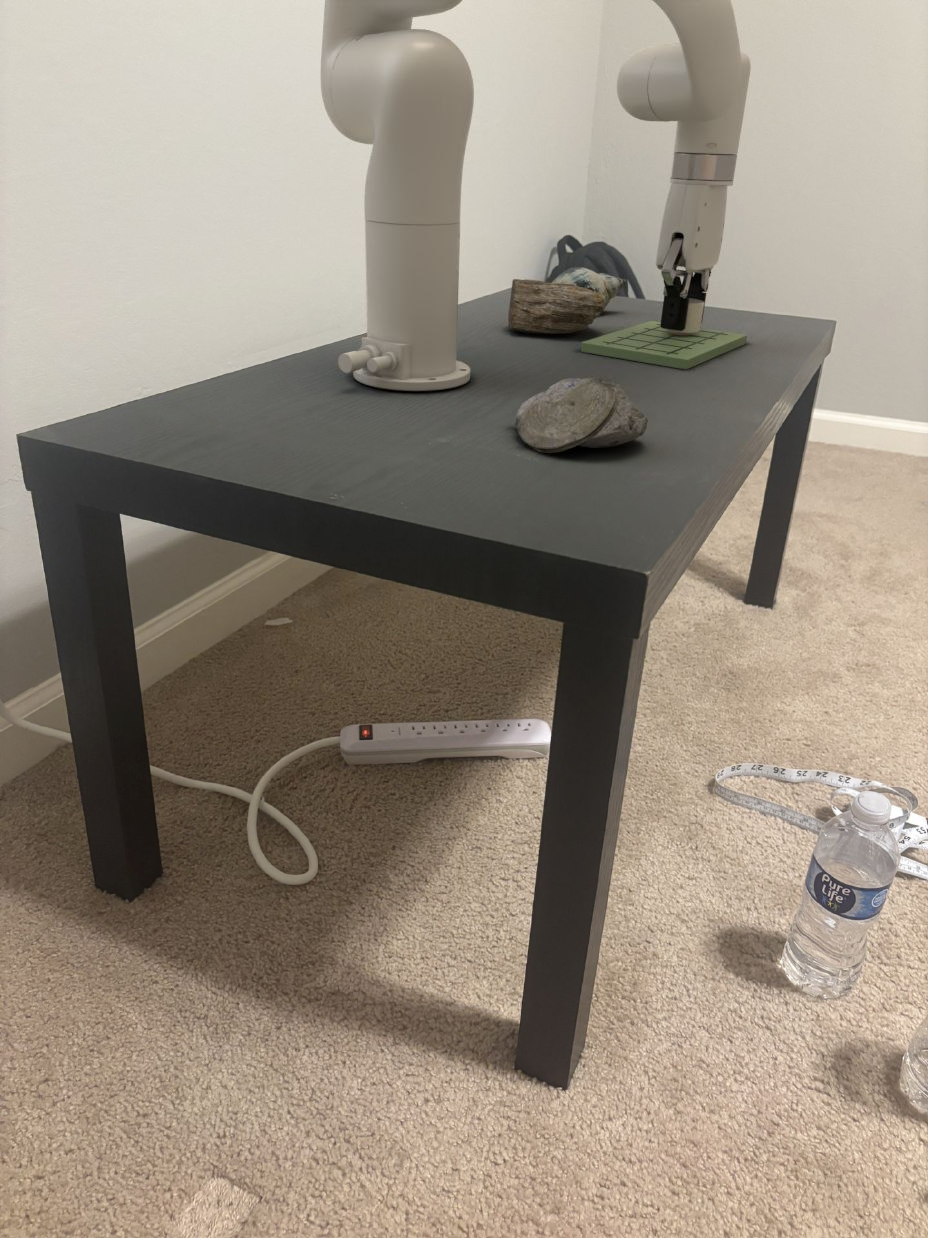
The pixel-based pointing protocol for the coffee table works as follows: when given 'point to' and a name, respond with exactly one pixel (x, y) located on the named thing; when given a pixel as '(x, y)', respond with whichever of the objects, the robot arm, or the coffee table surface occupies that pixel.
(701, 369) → the coffee table surface
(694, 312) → the beige cylinder
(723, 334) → the board
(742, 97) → the robot arm
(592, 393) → the fossilized seashell
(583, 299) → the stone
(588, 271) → the seashell
